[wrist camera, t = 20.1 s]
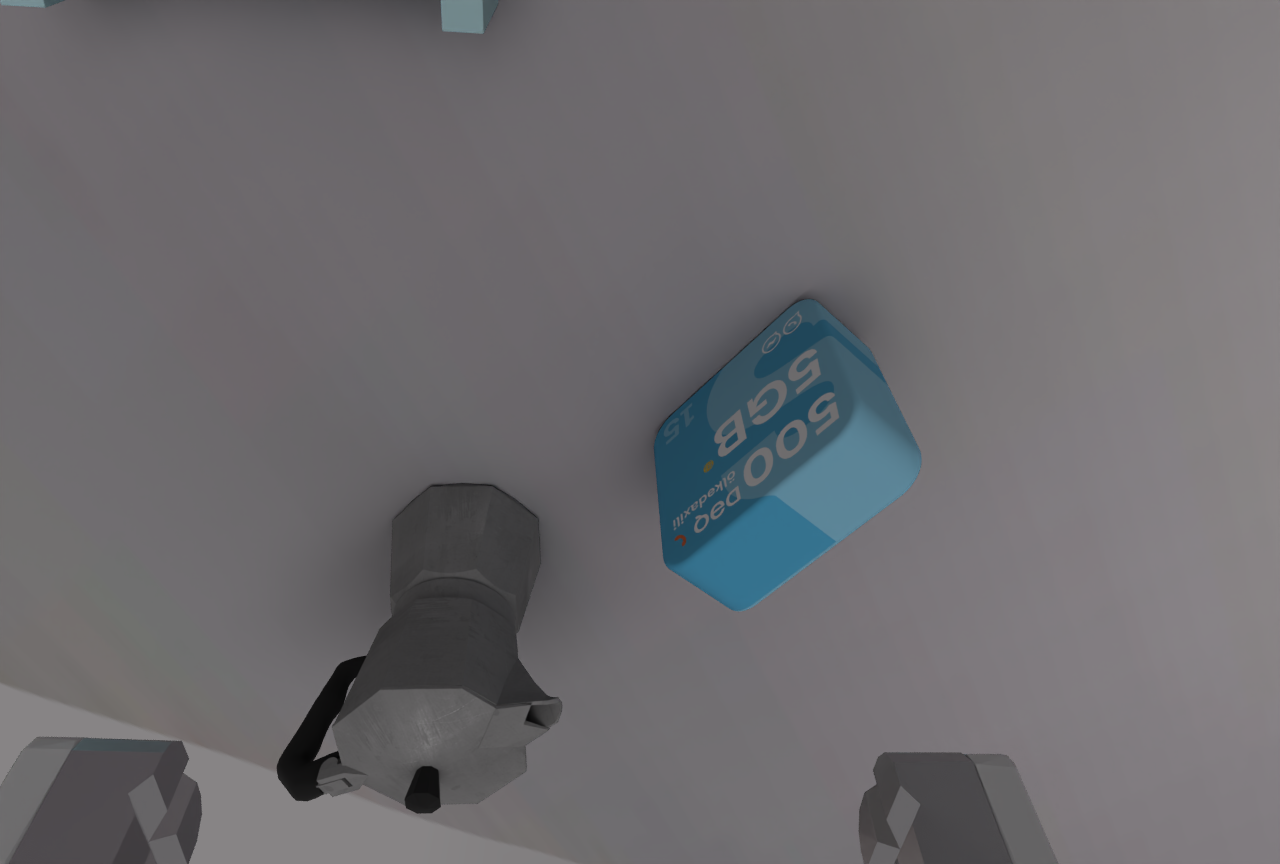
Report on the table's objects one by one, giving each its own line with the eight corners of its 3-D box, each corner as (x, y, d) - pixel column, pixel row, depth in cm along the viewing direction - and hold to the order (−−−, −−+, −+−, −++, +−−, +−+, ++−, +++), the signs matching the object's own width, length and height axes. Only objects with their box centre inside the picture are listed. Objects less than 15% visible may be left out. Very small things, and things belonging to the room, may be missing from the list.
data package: (809, 286, 47) (866, 416, 37) (865, 337, 48) (933, 474, 39) (650, 431, 51) (662, 581, 42) (706, 473, 53) (731, 626, 43)
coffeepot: (534, 446, 52) (509, 705, 37) (599, 559, 57) (599, 827, 42) (299, 528, 54) (188, 799, 40) (381, 629, 59) (309, 903, 45)
